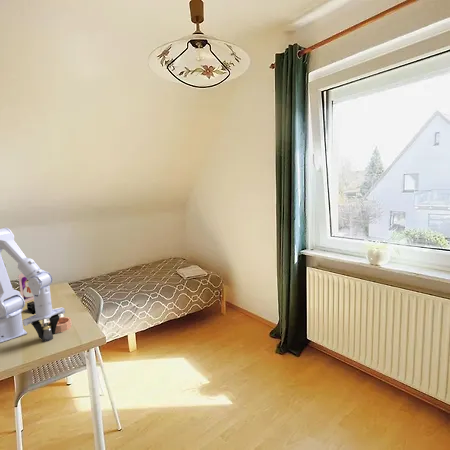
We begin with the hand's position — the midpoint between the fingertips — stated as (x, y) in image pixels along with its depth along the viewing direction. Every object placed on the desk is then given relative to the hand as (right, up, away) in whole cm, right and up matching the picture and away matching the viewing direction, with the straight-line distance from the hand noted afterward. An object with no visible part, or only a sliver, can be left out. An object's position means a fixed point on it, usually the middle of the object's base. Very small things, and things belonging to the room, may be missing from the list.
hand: (47, 335), depth 126 cm
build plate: (-23, +2, +28) cm, 36 cm away
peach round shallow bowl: (0, 0, +9) cm, 9 cm away
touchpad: (-9, +1, +21) cm, 23 cm away
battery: (0, -1, 0) cm, 1 cm away
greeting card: (-34, +4, +44) cm, 56 cm away
